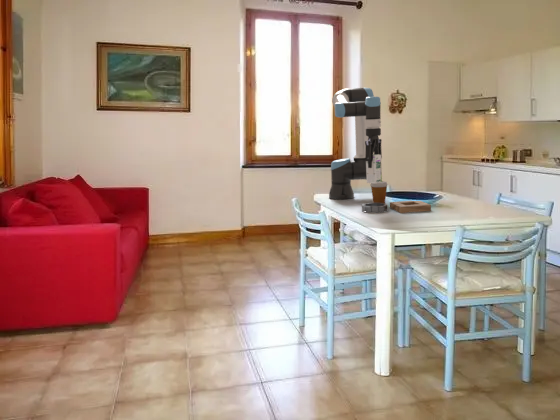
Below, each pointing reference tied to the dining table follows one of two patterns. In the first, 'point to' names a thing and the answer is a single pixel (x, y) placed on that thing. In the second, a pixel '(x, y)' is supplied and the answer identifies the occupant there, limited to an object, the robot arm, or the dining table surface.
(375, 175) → the syrup box
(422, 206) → the square socket
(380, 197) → the disposable coffee cup
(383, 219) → the dining table surface
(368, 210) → the metal ring
